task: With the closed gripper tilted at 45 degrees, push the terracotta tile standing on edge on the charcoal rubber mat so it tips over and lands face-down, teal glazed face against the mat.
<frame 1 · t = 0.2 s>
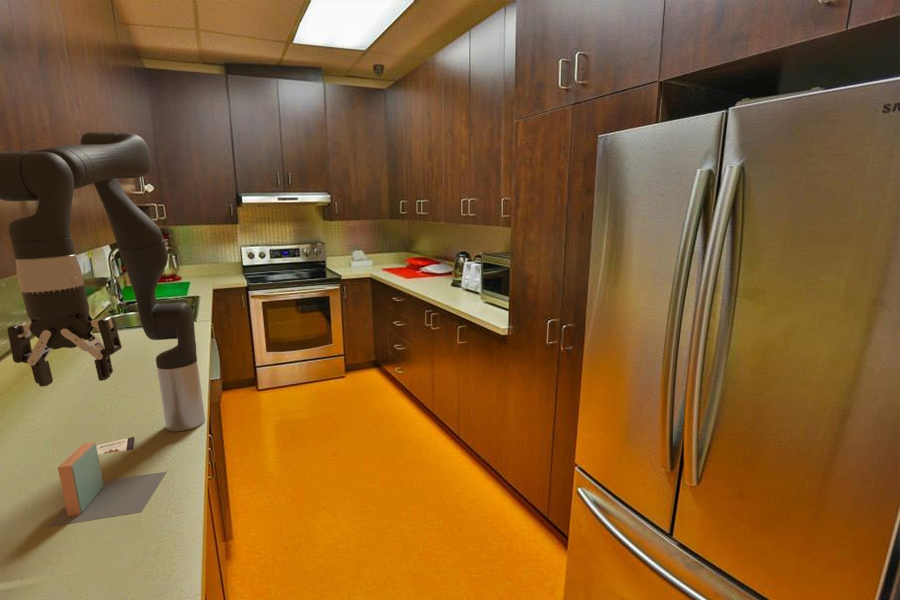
hand: (76, 381, 74), 29 cm above the countertop, tool pointing down, fingers open, 8 cm apart
mat: (113, 500, 90), on the countertop
tile: (86, 500, 89), point 1 cm above the countertop, touching mat
chocolate bar: (110, 462, 106), on the countertop
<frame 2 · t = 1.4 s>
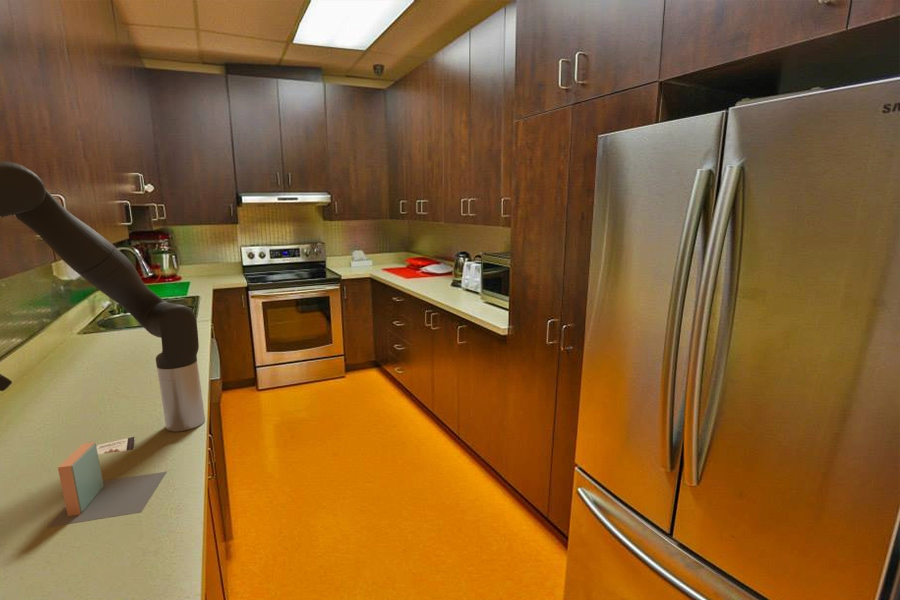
nothing on the countertop moved.
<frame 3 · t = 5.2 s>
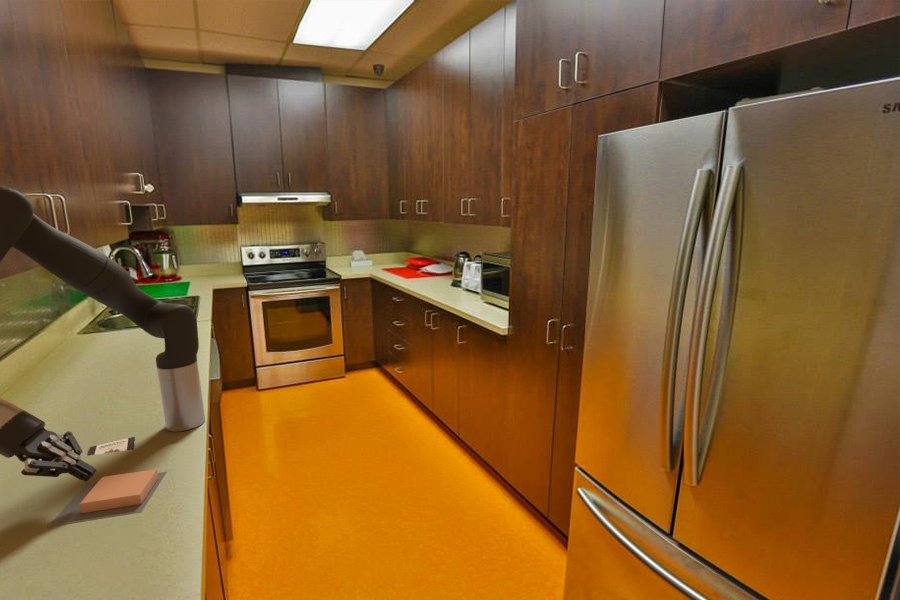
hand: (92, 475, 89), 6 cm above the countertop, tool tilted 45°, fingers closed
tile: (92, 494, 89), point 2 cm above the countertop, tilted 90°, touching mat
everything else where it was.
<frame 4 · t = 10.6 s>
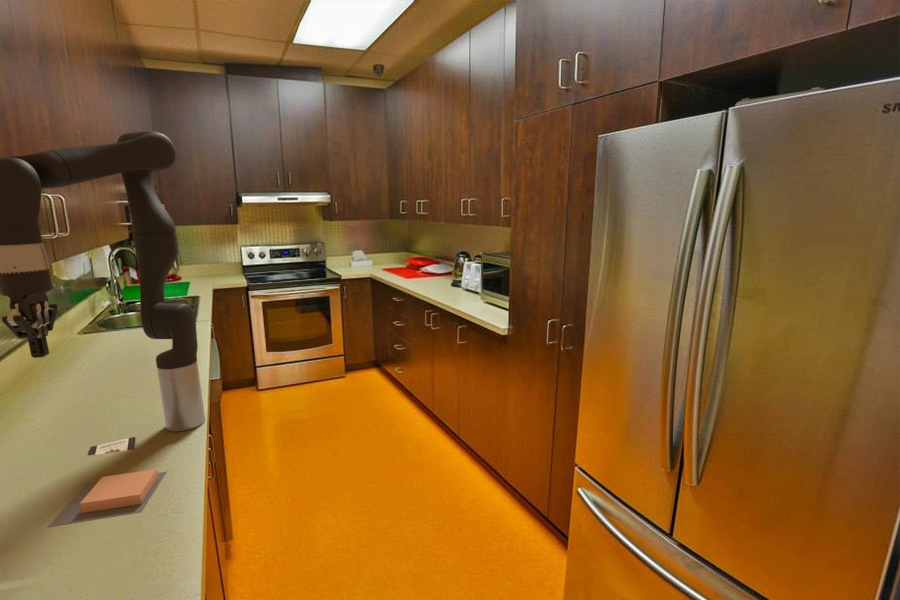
hand: (40, 356, 89), 29 cm above the countertop, tool pointing down, fingers closed
nothing on the countertop moved.
at the end: tile tilted 90°; tile inside the target area on the mat (0.8 cm from its centre), point 2.0 cm above the mat's base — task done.
